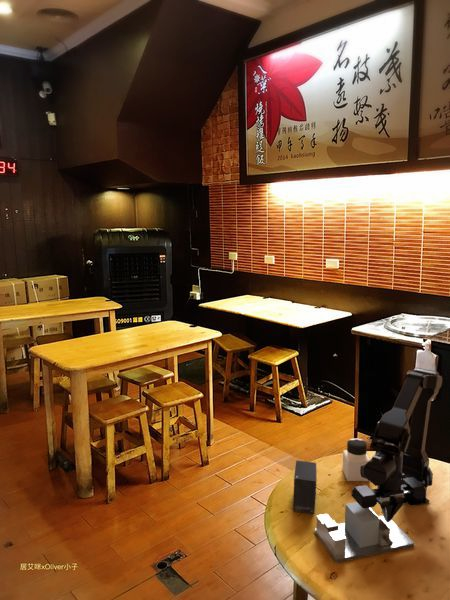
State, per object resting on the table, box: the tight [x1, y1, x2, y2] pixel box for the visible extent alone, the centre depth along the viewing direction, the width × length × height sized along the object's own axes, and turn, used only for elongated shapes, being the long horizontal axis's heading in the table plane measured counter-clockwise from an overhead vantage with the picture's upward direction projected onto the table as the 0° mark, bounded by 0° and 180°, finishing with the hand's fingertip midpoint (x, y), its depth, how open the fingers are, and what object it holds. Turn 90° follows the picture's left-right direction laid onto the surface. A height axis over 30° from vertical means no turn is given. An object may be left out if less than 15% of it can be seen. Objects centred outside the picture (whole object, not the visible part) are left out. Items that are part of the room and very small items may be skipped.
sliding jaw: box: [369, 507, 393, 547], centre depth 125 cm, size 2×15×4 cm, turn 15°
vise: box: [314, 513, 415, 564], centre depth 124 cm, size 22×12×6 cm, turn 105°
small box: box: [292, 459, 318, 514], centre depth 140 cm, size 11×6×10 cm, turn 168°
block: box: [344, 501, 379, 548], centre depth 124 cm, size 5×8×7 cm, turn 15°
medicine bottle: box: [341, 437, 371, 482], centre depth 154 cm, size 7×7×12 cm
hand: (387, 521), depth 126 cm, fingers closed
